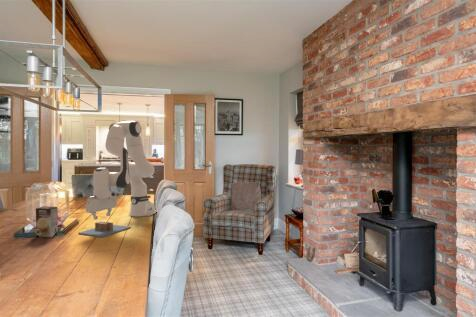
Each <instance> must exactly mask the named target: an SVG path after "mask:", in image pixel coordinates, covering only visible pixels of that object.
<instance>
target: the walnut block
mask: <svg viewBox="0 0 476 317" xmlns="http://www.w3.org/2000/svg"><path fill="white" fill-rule="evenodd" d="M113 225H114V222H111V221H110V222H108V221H96V222H94V228H95V230H103V231H110V230H113Z"/></svg>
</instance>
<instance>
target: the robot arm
mask: <svg viewBox="0 0 476 317" xmlns="http://www.w3.org/2000/svg"><path fill="white" fill-rule="evenodd" d="M141 126H142V125H141V124H140V123H139V122H138V121H136V120H125V121H120V122H119V121H118V122H114V123H111V124H110V125H109V127H108V132H107V135H106V139H105V145H104V146H105V150H106V151H107V152H108V153H110V154H111V155H112V156H115V157H117V158H119V160H120V162H119V163H120V169H119V170H120V171H109V169H108V167H104V166H101V167H97V168H95V169H94V170H93V177H92V184H93V190H92V191H93V196H89V197H87V199H86V204H85V205H86V206H85V212H86V213H87V214H91V215H92V217H93V220H99V219H98V218H99V216H98V215H97V212H100V211H101V212H103V211H105V210H107V212H106V213H105V215H106V217H110V216H111V212H112V210H113V208H116V207H117V204H118V203H117V200H118V199H117V192H115V191H112V190H110V188H115V189H116V188H119V189H125V188H127V187H128V186H129V185H130V192H131V194H130V195H131V196H130V202H131V203H130V208H129V213H128V214H129V216H130V217H149V216H152V215H154V214H156V210H157V209H156V206H155V204H154V203H153V202H152V201H151V200H149V199H151V198H152V197H151V195H148V186H147V184H146V183H145V182H144V180H143V178H145V179H146V178H151V177H152V176H153V175H154V174H155V172H156V171H155V166H154V165H153V164H152V163H151V162H150V161H149V160H148V158H147V156H146V154H145V151H144V146H143V142H142V138H141V133H142V127H141ZM125 145H126V147H125ZM129 158H130V159H131V160H132V161H133V162H132V161H131V162H129Z"/></svg>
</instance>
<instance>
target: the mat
mask: <svg viewBox="0 0 476 317" xmlns="http://www.w3.org/2000/svg"><path fill="white" fill-rule="evenodd" d="M129 229H131V226H126V225H119V224H113V230H110V231H103V230H95V227H94V228H90V229H87V230H84V231H81V232H78V235H83V236H88V237H94V238H95V237H97V238H105V237H108V236H112V235H115V234H117V233H121V232H123V231H126V230H129Z"/></svg>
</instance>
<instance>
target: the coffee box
mask: <svg viewBox="0 0 476 317" xmlns="http://www.w3.org/2000/svg"><path fill="white" fill-rule="evenodd" d="M58 209H59V208H58V206H41V207H37V208H35V235H36V234H37V235H38V236H39V237H40V238H52V237H54V235H55V233H56V232H57V231H58V232H59V230H58V229H59V228H58V227H59V226H58V224H59V223H58V221H59V220H58V219H59V217H58V216H59V215H58V214H59V213H58V211H59V210H58ZM55 236H56V235H55ZM39 237H38V238H39Z"/></svg>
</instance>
